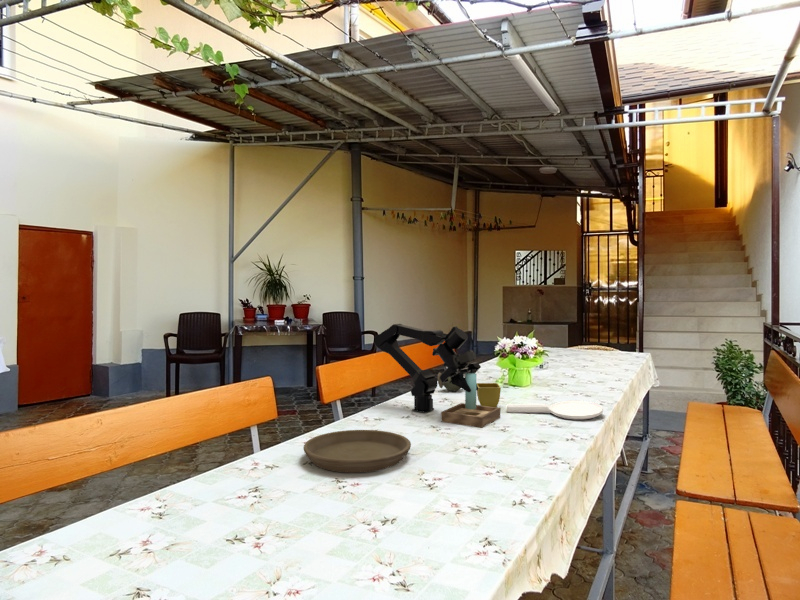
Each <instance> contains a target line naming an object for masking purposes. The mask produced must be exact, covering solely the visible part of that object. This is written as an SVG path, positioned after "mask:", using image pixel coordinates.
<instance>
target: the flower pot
mask: <svg viewBox="0 0 800 600" xmlns="http://www.w3.org/2000/svg"><path fill="white" fill-rule="evenodd" d="M476 383H477V386H478V390H476V397H477V399H478V402H479V404H480V406H488V407H496V408H498V407H497V406H498V404H499V402H500V398H501V388H502V387H501V385H500V384H499V383H497V382H492V383H491V382H476Z"/></svg>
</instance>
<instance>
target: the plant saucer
mask: <svg viewBox="0 0 800 600" xmlns="http://www.w3.org/2000/svg"><path fill="white" fill-rule="evenodd" d="M411 447H412V443H411V440H410V439H408V437H406V436H404V435H401V434H399V433H397V432H396V433H395V432H391V431H386V430H378V429H377V430H376V429H348V430H347V429H346V430H339V431H333V432H331V431H330V432H327V433H324V434H323V433H322V434H319V435H317V436H314V437H311V438H310V439H309V440H307V441H306V442H305V443H304V445H303V452H304V453H305V455H306V457H307V458H308V459H310V460H311V463H313V465H315V466H317V467H318V468H320V469H323V470H327V471H331V472H338V473H347V474H348V473H349V474H350V473H354V474H355V473H359V474H360V473H361V474H362V473H369V472H371V473H372V472H375V471H378V472H379V471H381V470H386V469H389V468H391V467H394V466H396V465H398V464H400V462H401V461H402V460H403V458H404V457H406V455H407V454H408V453H409V451H410V449H411Z"/></svg>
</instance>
